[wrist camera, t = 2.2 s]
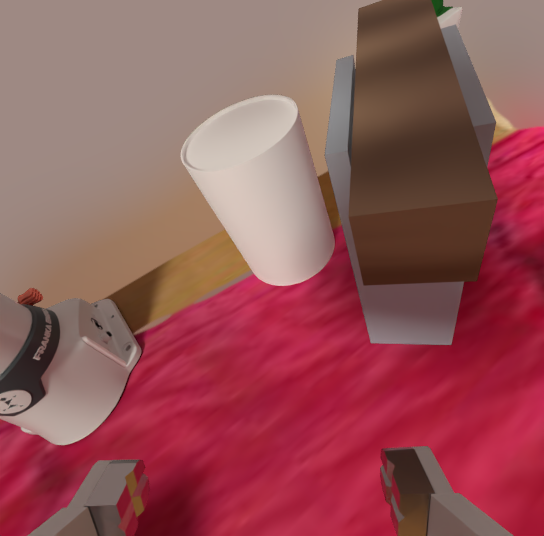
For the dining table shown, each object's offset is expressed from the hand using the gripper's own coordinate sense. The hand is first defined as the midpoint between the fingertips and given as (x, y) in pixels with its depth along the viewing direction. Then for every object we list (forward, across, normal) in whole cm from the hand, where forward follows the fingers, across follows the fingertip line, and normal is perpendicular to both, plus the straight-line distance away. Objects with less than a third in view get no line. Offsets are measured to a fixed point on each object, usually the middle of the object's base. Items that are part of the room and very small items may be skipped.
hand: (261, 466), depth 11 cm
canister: (+40, -2, +3) cm, 40 cm away
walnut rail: (+11, -8, -10) cm, 17 cm away
